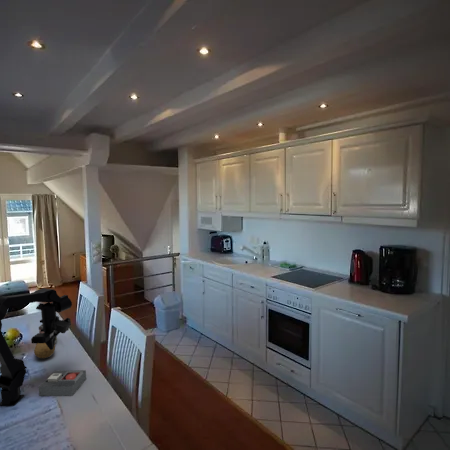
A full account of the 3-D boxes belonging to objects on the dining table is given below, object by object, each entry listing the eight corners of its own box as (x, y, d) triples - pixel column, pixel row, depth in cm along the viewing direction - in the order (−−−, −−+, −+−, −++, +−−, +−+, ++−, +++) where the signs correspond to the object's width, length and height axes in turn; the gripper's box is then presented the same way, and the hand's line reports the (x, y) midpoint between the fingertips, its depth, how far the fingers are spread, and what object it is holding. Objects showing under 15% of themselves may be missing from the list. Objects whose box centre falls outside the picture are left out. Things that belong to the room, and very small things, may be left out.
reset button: (73, 389, 134) (73, 378, 133) (64, 389, 134) (63, 378, 133) (78, 383, 138) (77, 373, 137) (69, 383, 138) (68, 373, 137)
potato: (53, 348, 172) (52, 334, 171) (58, 358, 161) (57, 343, 160) (32, 354, 166) (31, 339, 165) (36, 365, 155) (34, 349, 154)
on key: (57, 389, 134) (56, 378, 133) (48, 389, 134) (47, 378, 133) (62, 383, 138) (61, 373, 137) (53, 384, 138) (52, 373, 137)
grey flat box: (72, 395, 130) (71, 384, 129) (39, 396, 130) (38, 384, 130) (86, 378, 141) (85, 368, 141) (55, 379, 142) (54, 368, 142)
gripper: (54, 324, 133) (57, 359, 134) (76, 308, 152) (79, 339, 153) (28, 324, 133) (32, 360, 135) (54, 309, 152) (56, 340, 153)
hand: (51, 349), depth 144 cm, fingers closed
